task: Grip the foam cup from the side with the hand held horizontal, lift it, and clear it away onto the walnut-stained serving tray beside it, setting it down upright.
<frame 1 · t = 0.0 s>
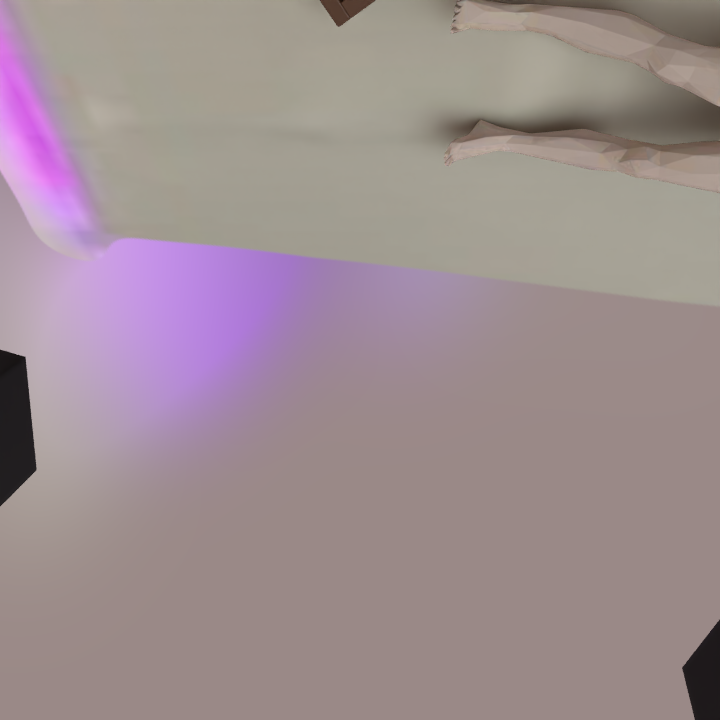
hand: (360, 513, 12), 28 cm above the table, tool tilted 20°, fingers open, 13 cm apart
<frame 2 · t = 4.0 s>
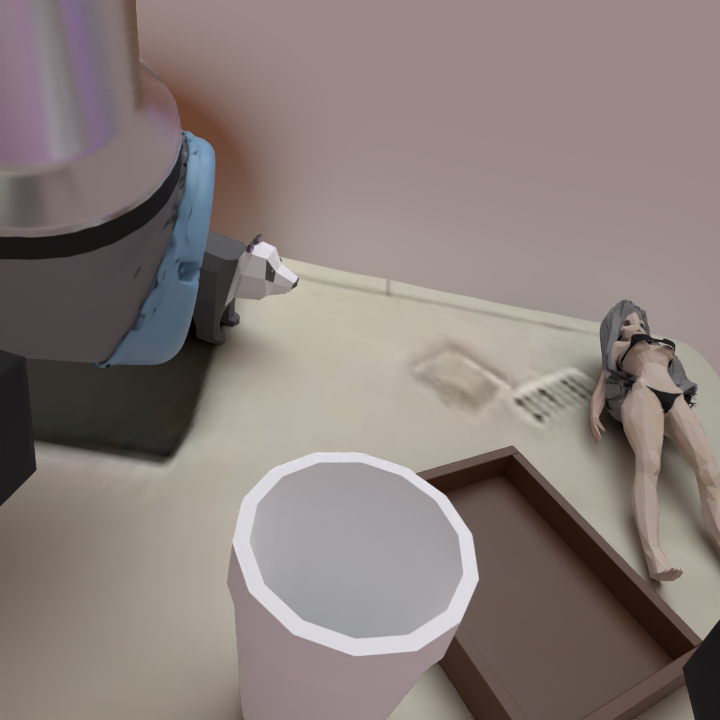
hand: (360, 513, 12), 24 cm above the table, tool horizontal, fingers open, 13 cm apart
giant panda: (201, 325, 57), on the table
foam cup: (306, 710, 32), on the table
tray: (509, 595, 40), on the table
anime figure: (639, 454, 55), on the table
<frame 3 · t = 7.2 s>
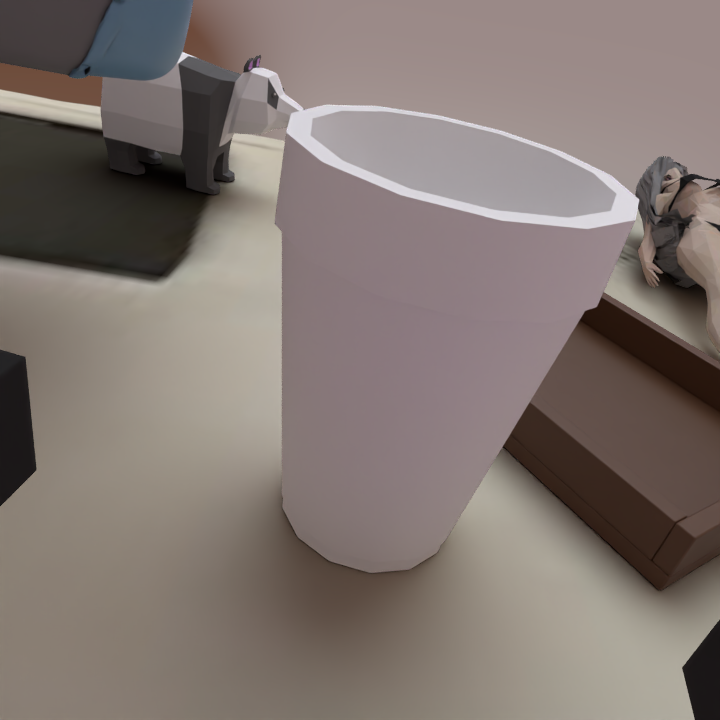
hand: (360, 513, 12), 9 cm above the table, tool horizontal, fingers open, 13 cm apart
giant panda: (190, 180, 50), on the table
foam cup: (365, 506, 24), on the table
tray: (590, 409, 33), on the table
anime figure: (698, 305, 48), on the table
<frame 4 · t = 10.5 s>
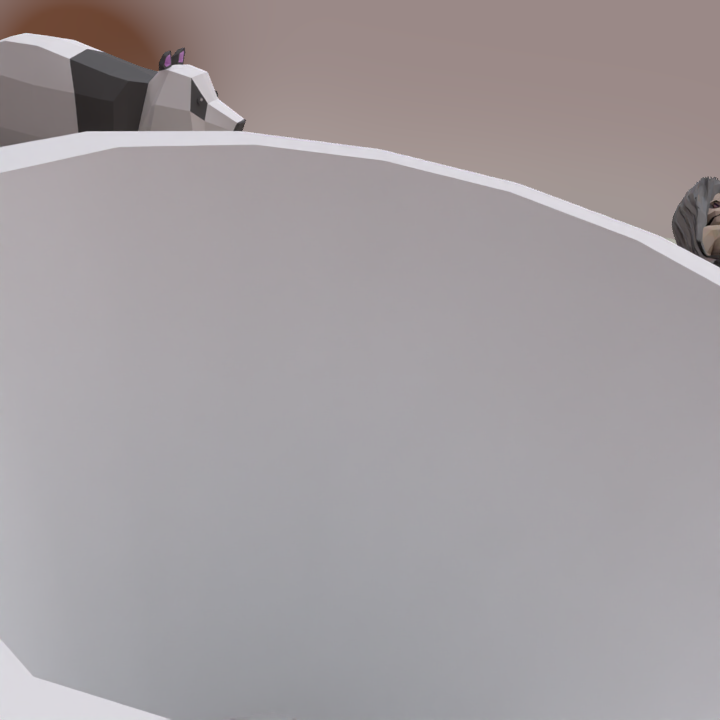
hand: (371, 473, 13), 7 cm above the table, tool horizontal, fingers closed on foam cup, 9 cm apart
giant panda: (102, 211, 38), on the table
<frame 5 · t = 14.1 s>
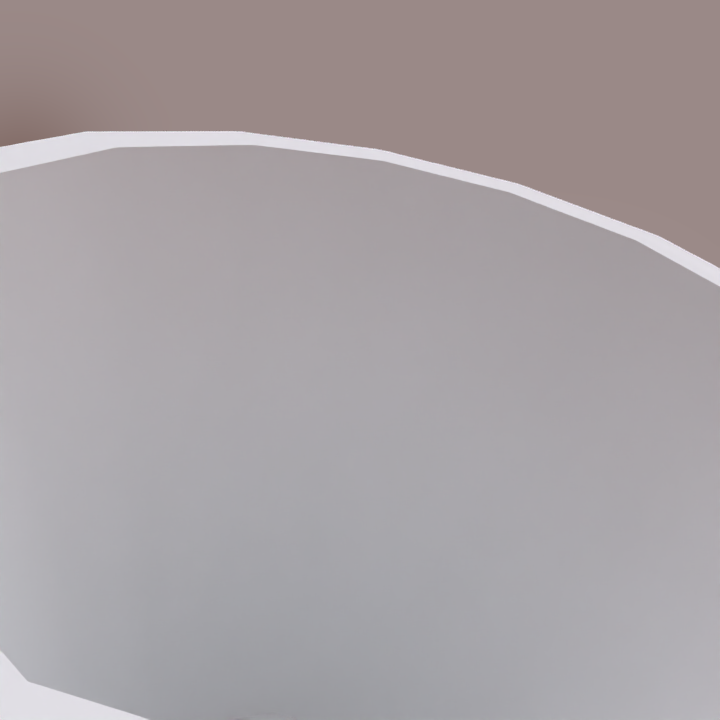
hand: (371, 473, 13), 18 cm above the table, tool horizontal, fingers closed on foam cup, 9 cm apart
when the fingers open (8 cm above the table, at t = 18.0 s): foam cup stays where it is, resting on tray.
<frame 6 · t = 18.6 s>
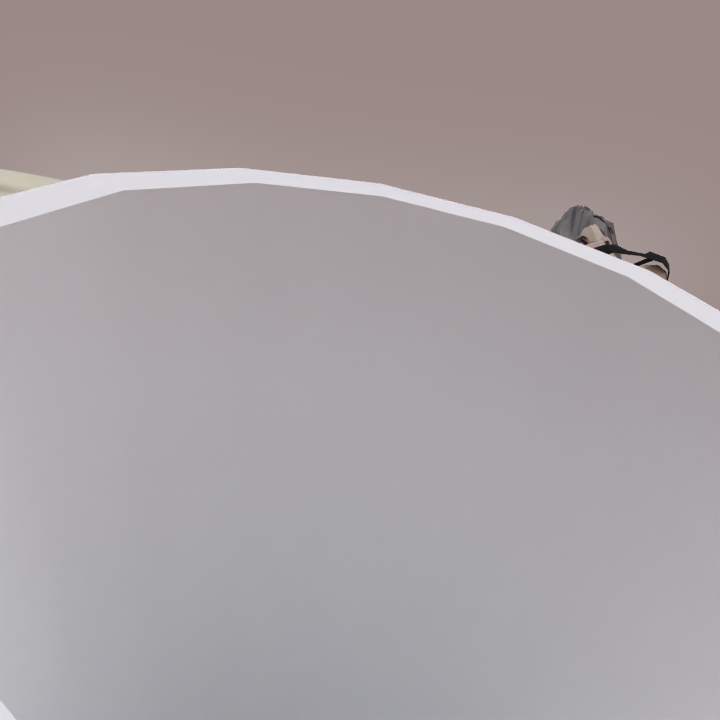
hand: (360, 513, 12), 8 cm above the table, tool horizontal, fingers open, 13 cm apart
anime figure: (615, 468, 29), on the table
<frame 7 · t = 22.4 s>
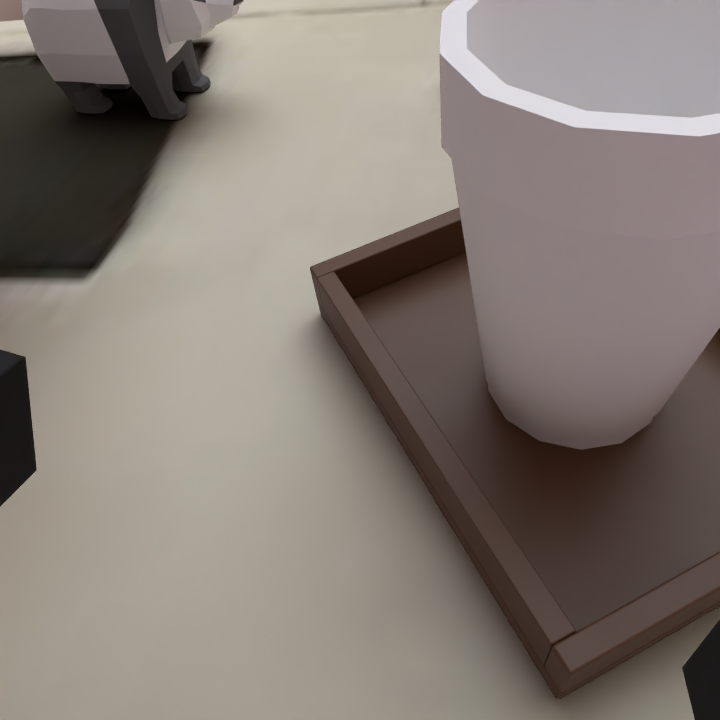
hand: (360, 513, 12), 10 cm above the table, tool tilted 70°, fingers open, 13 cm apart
giant panda: (161, 101, 44), on the table
foam cup: (571, 380, 24), point 1 cm above the table, touching tray
tray: (567, 388, 25), on the table
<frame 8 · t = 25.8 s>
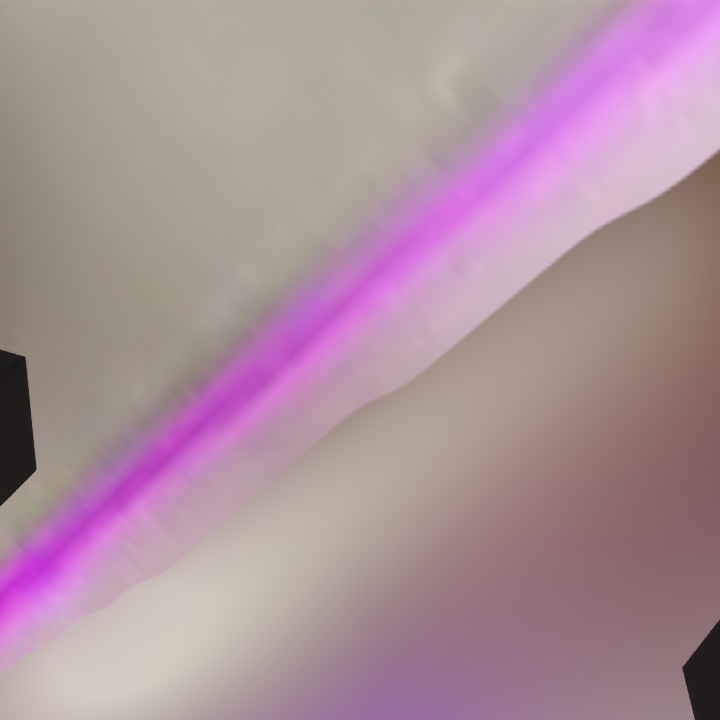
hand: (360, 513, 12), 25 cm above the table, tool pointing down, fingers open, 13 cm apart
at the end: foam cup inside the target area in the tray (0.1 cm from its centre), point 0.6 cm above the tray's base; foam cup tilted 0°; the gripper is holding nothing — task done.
